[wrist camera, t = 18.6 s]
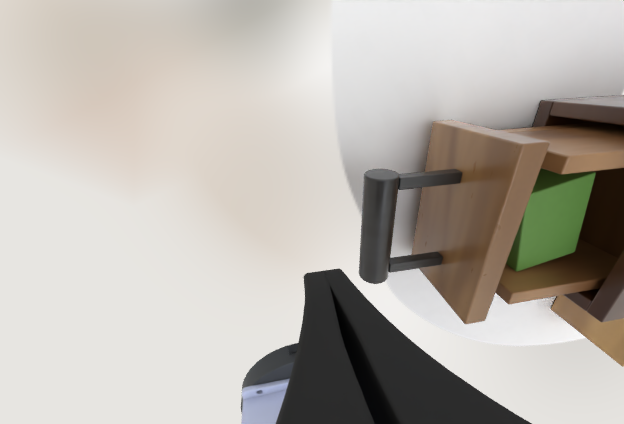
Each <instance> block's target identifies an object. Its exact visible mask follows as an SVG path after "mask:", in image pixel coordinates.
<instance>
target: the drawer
mask: <svg viewBox="0 0 624 424" xmlns="http://www.w3.org/2000/svg"><path fill="white" fill-rule="evenodd" d="M541 168H542V169H545V170H549V171H552V172H555V173H558V174H571V173H581V172H590V171H592V172H595V173H596V175H595V178H594V182H593V186H592V190H591V193H590V197H589V201H588V204H587V208H586V212H585V216H584V219H583V223H582V227H581V231H580V234H579V238H578V242H577V246H576V249H575V252H573V253H570V254H567V255H565V256H562V257H559V258H556V259H553V260H550V261H547V262H544V263H541V264H538V265H535V266H532V267H529V268H526V269H523V270H520V271H515V270H513V269H512V268H511V267H509V266H508V265H507V264H506V262H507V259H508V256H509V253H510V251H511V248H512V245H513V243H514V240H515V237H516V234H517V232H518V229H519V226H520V223H521V221H522V218H523V215H524V213H525V210H526V207H527V204H528V202H529V199H530V196H531V193H532V191H533V188H534V185H535V183H536V180H537V177H538V174H539V172H540V169H541ZM413 188H422V192H421V198H420V205H419V211H418V217H417V223H416V230H415V236H414V242H413V248H412V254H411V255H408V256H401V257H394V258H390V254H391V245H392V237H393V228H394V219H395V211H396V202H397V194H398V189H399V190H403V189H413ZM623 250H624V125H616V124H609V123H601V122H592V123H580V124H567V125H555V126H542V127H530V128H517V129H504V130H494V129H490V128H486V127H481V126H477V125H472V124H468V123H463V122H459V121H454V120H443V121H434V122H433V124H432V130H431V136H430V142H429V149H428V155H427V161H426V167H425V172H417V173H407V174H398V173H397V172H395V171H392V170H387V169H373V170H369V171H367V172H365V174H364V187H363V206H362V226H361V246H360V264H359V274H360V277H361V278H362V279H363V280H364V281H366V282H369V283H373V284H378V283H382V282H384V281H385V280H386V279H387V278H388V271H389V272H396V271H403V270H410V269H417V268H419V269H420V270H421V271H422V273H423V274H424V275H425V276H426V277H427V279H428V280H429V281H430V282H431V284H432V285H433V286H434V287H435V288H436V290H437V291H438V292H439V293H440V294H441V296H442V297H443V298H444V299H445V301H446V302H447V303H448V304H449V305H450V307H451V308H452V309H453V310H454V311H455V313H456V314H457V315H458V316H459V317H460V319H461V320H462V321H463V322H464V323H465V324H470V323H475V322H481V321H484V320H485V319H486V316H487V314H488V311H489V308H490V305H491V303H492V300H493V297H494V294H495V292H496V293H497V294H498V295H499V296H500V297H501V298H502V299H503V300H504V301H505V302H507V303H508V304H513V303H519V302H525V301H530V300H536V299H542V298H547V297H553V296H559V295H564V294H570V293H576V292H581V291H587V290H593V289H598V288H601V286H602V285H603V283H604V281H605V280H606V278H607V276H608V275H609V273H610V271H611V270H612V268H613V266H614V265H615V263H616V261H617V260H618V258H619V256H620V255H621V253H622V251H623Z"/></svg>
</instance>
